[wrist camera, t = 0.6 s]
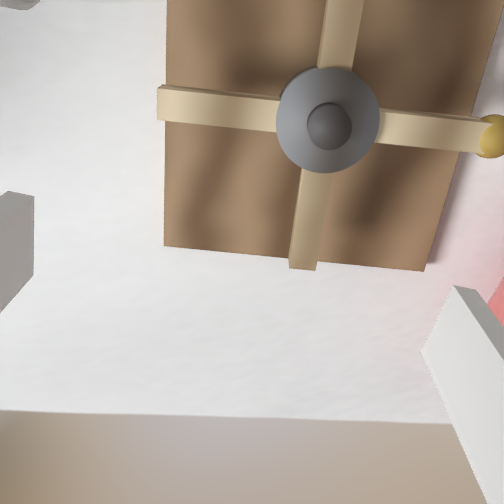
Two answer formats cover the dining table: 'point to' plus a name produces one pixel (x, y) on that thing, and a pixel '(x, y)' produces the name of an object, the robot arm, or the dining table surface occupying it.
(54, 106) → the dining table surface
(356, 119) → the capstan
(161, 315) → the dining table surface
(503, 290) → the cell model
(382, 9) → the stand
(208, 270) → the dining table surface
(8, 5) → the cup
